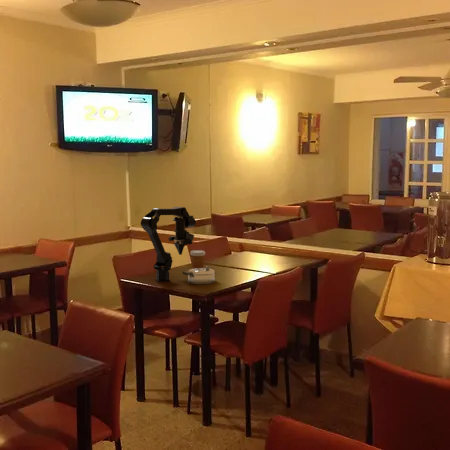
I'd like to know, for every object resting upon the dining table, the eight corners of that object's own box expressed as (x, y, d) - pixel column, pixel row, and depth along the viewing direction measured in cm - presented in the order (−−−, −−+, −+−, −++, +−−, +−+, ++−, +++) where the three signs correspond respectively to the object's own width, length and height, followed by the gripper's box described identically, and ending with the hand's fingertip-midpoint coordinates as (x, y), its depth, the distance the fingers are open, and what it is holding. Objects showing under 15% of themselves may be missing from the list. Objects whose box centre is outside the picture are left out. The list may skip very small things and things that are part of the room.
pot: (196, 285, 318) (196, 276, 318) (182, 280, 331) (182, 271, 331) (220, 282, 327) (220, 273, 326) (205, 277, 340) (205, 269, 339)
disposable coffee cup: (187, 271, 358) (187, 251, 357) (195, 268, 367) (195, 249, 365) (200, 272, 354) (200, 253, 352) (208, 269, 362) (208, 250, 361)
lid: (191, 276, 316) (191, 271, 316) (178, 272, 329) (178, 266, 328) (219, 273, 326) (219, 268, 326) (205, 268, 339) (205, 263, 338)
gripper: (200, 229, 335) (200, 255, 337) (184, 225, 351) (184, 251, 353) (183, 230, 329) (183, 257, 331) (168, 227, 345) (168, 252, 346)
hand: (180, 254), depth 340 cm, fingers closed
